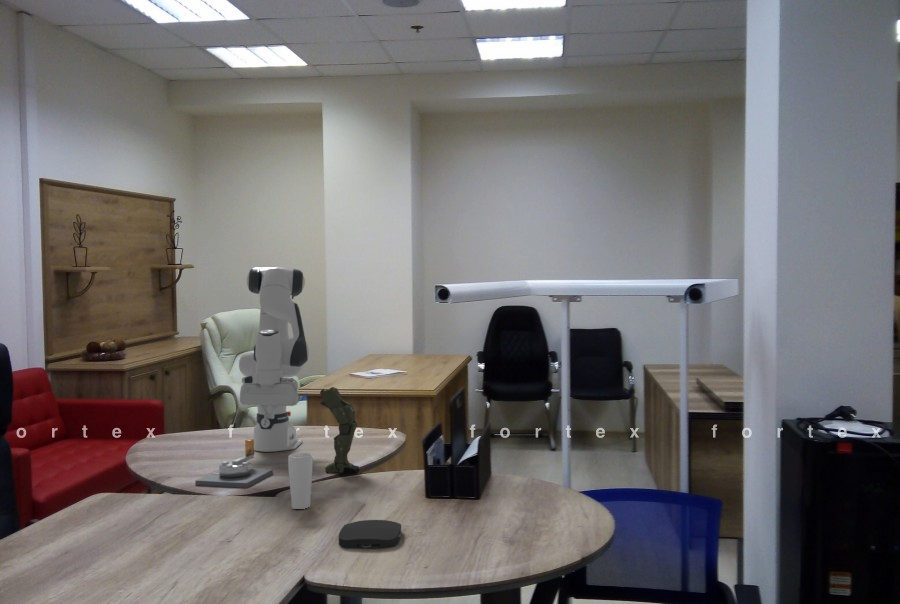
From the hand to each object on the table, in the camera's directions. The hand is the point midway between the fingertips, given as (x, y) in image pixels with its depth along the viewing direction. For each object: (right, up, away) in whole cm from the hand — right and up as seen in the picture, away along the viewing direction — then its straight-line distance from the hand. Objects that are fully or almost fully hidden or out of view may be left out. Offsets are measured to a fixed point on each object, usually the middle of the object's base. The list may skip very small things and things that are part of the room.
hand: (269, 418), depth 247 cm
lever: (-9, -17, -5) cm, 20 cm away
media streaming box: (+42, -19, -67) cm, 82 cm away
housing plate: (-9, -19, -8) cm, 22 cm away
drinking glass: (+19, -19, -41) cm, 49 cm away
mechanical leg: (+24, -19, +2) cm, 30 cm away
